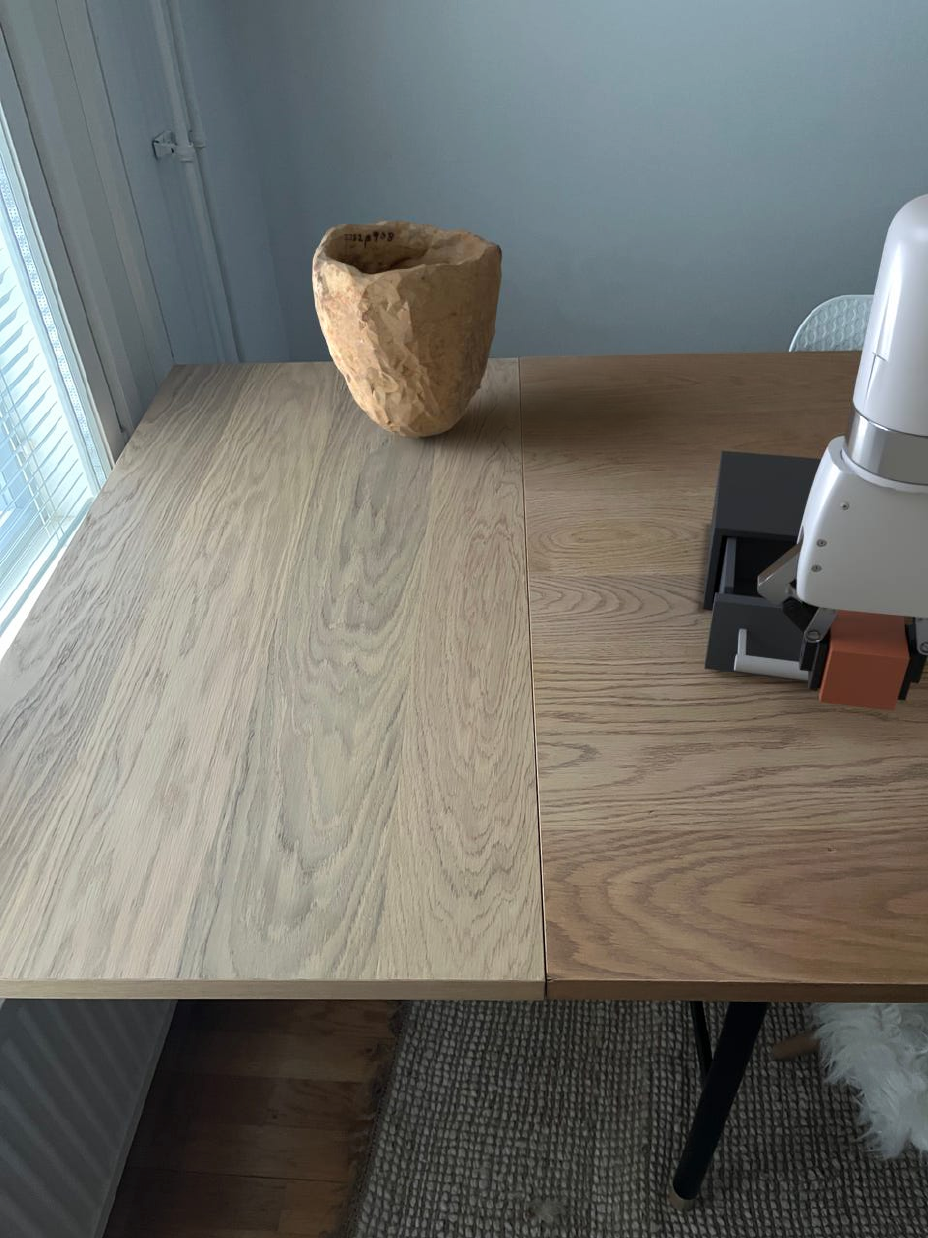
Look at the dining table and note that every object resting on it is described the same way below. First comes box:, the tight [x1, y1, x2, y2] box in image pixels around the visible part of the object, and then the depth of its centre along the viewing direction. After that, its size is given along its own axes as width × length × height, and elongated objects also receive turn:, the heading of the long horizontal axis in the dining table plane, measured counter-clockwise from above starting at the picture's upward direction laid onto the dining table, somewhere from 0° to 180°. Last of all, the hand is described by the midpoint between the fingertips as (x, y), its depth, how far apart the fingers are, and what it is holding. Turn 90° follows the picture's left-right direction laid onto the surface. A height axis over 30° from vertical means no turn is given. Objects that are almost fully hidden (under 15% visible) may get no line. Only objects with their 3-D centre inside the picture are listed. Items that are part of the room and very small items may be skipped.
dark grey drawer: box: [703, 536, 808, 683], centre depth 85 cm, size 18×11×8 cm, turn 166°
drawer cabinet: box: [702, 450, 822, 611], centre depth 94 cm, size 15×13×10 cm
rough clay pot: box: [311, 219, 503, 440], centre depth 116 cm, size 22×22×25 cm
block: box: [818, 610, 910, 712], centre depth 62 cm, size 5×5×5 cm
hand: (855, 679), depth 63 cm, fingers closed on block, 4 cm apart
